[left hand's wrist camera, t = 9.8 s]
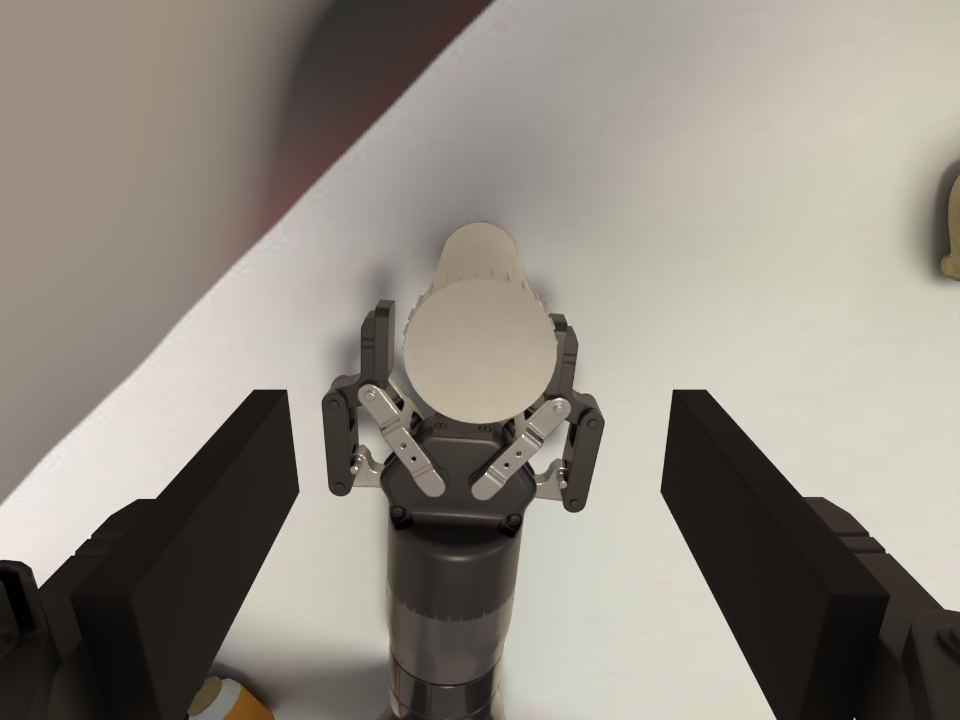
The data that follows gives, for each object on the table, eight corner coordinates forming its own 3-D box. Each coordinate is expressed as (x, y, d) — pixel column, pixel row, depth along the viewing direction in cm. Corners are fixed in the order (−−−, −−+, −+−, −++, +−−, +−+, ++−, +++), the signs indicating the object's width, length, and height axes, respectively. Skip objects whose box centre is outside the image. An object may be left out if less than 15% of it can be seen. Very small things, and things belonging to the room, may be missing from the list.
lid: (508, 237, 20) (510, 245, 18) (579, 364, 21) (586, 381, 20) (377, 313, 21) (369, 327, 19) (454, 430, 22) (453, 450, 21)
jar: (494, 207, 34) (505, 259, 19) (532, 275, 35) (569, 372, 20) (426, 247, 34) (387, 327, 20) (466, 312, 36) (457, 432, 21)
